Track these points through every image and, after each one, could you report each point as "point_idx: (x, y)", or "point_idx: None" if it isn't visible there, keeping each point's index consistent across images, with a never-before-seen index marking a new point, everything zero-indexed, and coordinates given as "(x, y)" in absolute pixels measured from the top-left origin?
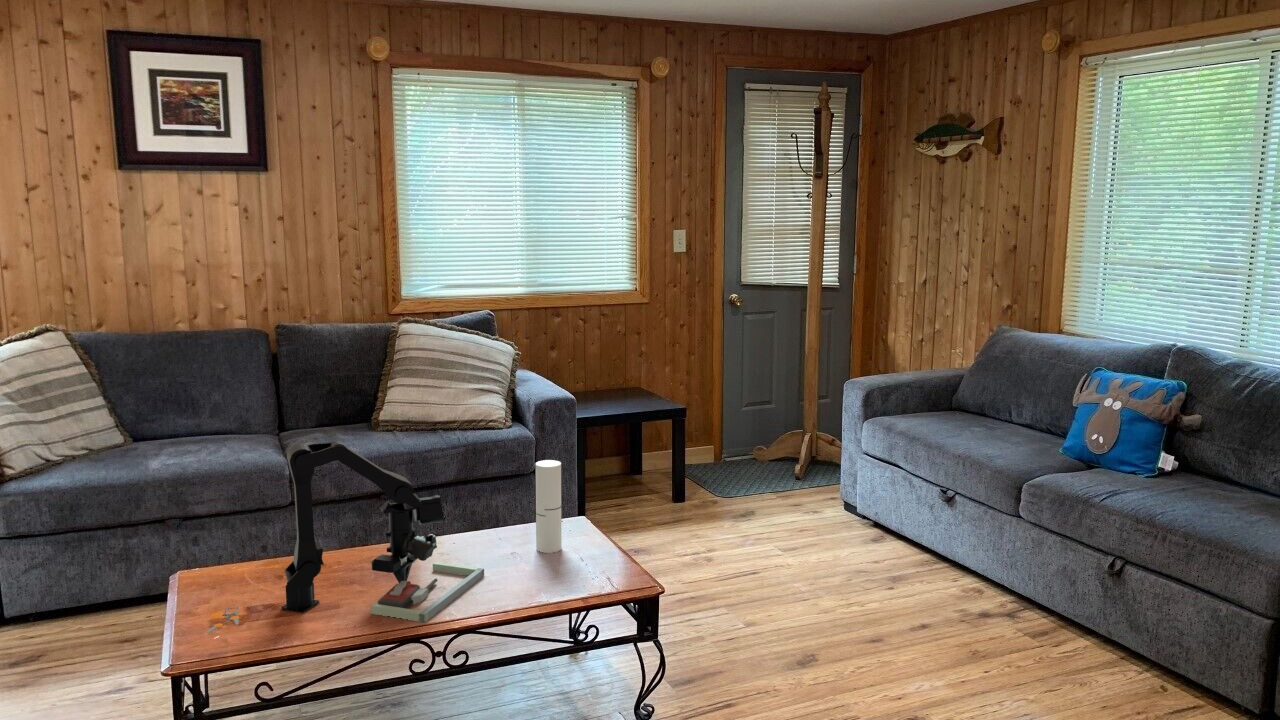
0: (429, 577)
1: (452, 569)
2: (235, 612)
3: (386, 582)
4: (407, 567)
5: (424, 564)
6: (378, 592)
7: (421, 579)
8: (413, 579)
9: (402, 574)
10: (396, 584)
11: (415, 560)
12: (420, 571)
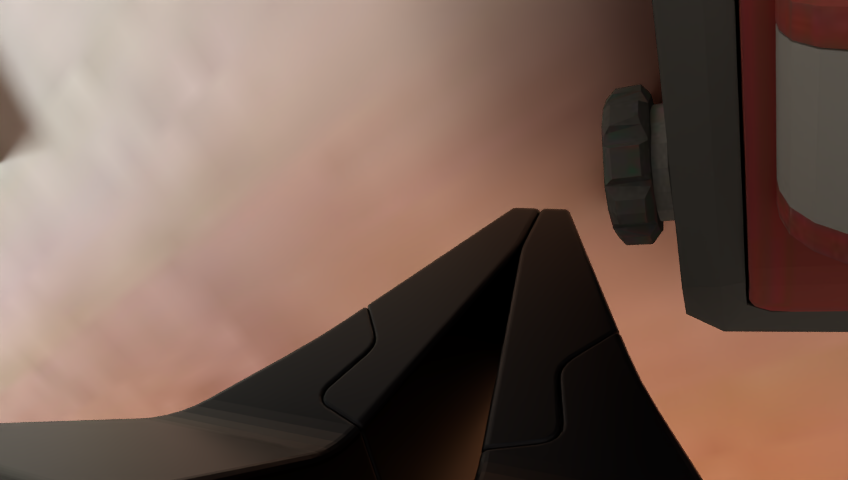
0: (96, 98)
1: None
2: None
3: None
4: (377, 435)
5: (8, 292)
6: (753, 427)
7: (191, 154)
8: (249, 234)
9: (634, 388)
10: (738, 320)
11: (14, 434)
12: (95, 261)
